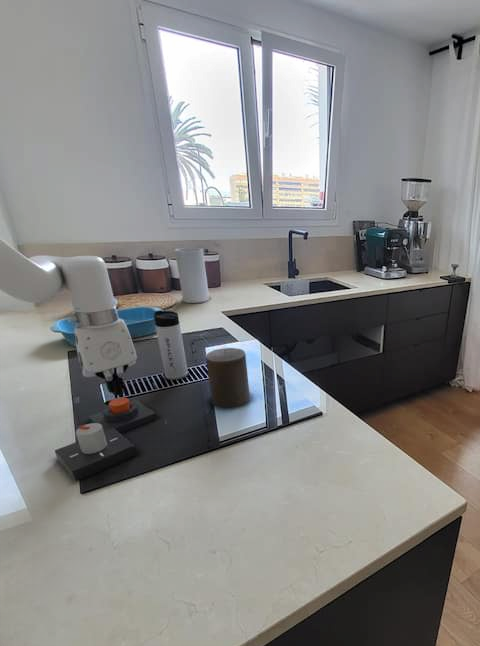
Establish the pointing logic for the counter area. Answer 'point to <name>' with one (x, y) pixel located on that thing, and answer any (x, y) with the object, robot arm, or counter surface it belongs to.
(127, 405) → the button
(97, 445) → the timer dial
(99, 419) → the block
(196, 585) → the counter surface
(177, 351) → the travel mug
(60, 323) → the casserole dish
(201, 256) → the cylinder vase
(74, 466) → the panel
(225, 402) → the pillar candle
